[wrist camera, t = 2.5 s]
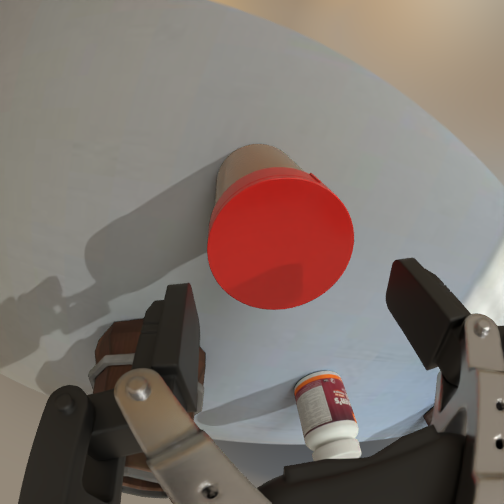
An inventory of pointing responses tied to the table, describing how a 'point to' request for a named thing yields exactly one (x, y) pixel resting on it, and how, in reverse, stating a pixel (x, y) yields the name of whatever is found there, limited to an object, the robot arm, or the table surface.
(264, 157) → the jar
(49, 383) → the table surface
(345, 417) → the pill bottle
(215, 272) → the lid
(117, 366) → the mug
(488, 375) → the robot arm
